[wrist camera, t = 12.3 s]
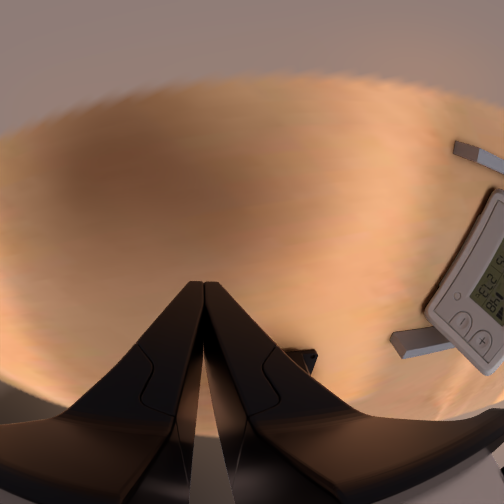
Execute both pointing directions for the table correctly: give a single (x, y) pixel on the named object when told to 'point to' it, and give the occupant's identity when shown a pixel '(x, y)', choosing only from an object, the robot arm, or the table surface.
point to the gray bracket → (430, 337)
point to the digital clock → (475, 292)
